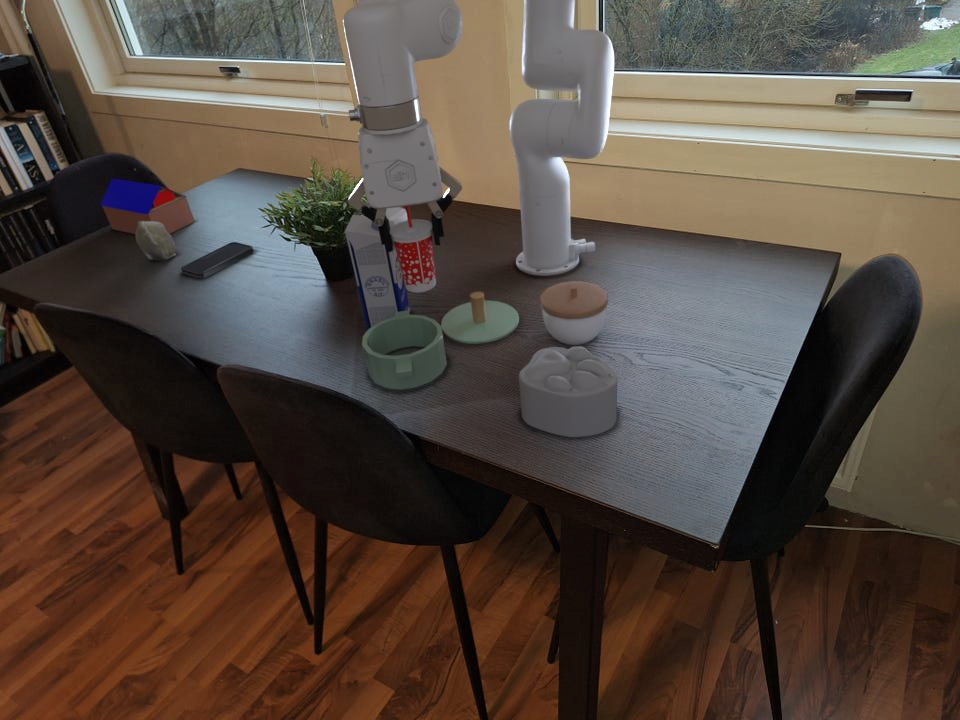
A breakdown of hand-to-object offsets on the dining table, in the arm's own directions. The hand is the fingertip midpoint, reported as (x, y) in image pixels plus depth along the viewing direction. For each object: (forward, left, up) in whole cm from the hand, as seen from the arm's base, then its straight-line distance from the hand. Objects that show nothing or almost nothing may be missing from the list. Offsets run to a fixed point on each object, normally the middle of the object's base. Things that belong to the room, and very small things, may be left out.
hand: (413, 243), depth 93 cm
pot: (+4, -2, -22) cm, 23 cm away
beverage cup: (0, 0, -7) cm, 7 cm away
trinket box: (-24, -4, -22) cm, 33 cm away
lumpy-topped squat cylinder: (-19, +15, -22) cm, 33 cm away
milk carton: (+7, -17, -22) cm, 29 cm away
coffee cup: (+5, -32, -22) cm, 39 cm away
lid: (-9, -12, -22) cm, 26 cm away
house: (+70, -85, -22) cm, 112 cm away
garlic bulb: (+61, -63, -22) cm, 90 cm away
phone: (+46, -55, -22) cm, 75 cm away
